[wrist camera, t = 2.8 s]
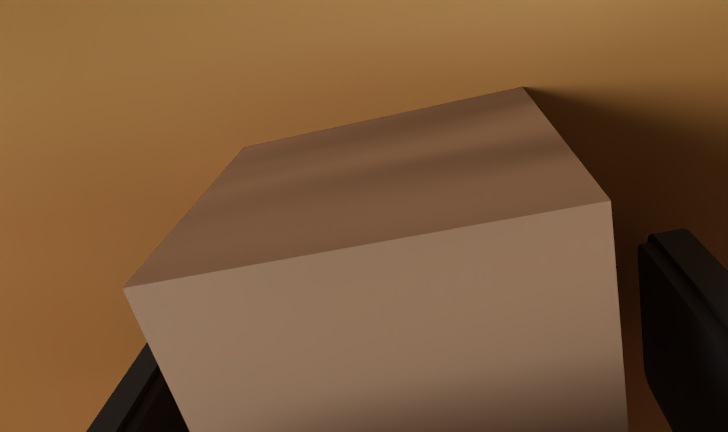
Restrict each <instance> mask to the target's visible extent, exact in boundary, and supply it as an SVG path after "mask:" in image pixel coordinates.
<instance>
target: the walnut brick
mask: <svg viewBox="0 0 728 432" xmlns="http://www.w3.org/2000/svg"><path fill="white" fill-rule="evenodd" d="M122 289H123V291H124V294H125V296H126V298H127V300H128V302H129V304H130V306H131V308H132V310H133V313H134V315H135V317H136V319H137V321H138V323H139V325H140V327H141V329H142V332H143V334H144V336H145V338H146V340H147V342H148V344H149V346H150V348H151V351H152V353H153V355H154V357H155V359H156V361H157V363H158V365H159V367H160V370H161V372H162V374H163V376H164V378H165V380H166V382H167V384H168V386H169V389H170V391H171V393H172V395H173V397H174V399H175V401H176V403H177V405H178V408H179V410H180V412H181V414H182V416H183V418H184V420H185V422H186V425H187V427H188V429H189V431H190V432H629V428H628V415H627V402H626V389H625V376H624V364H623V351H622V338H621V325H620V312H619V299H618V286H617V274H616V261H615V248H614V235H613V222H612V209H611V200H610V199H609V198H608V196H607V195H606V194H605V192H604V191H603V190H602V189H601V187H600V186H599V185H598V183H597V182H596V181H595V180H594V178H593V177H592V176H591V174H590V173H589V172H588V171H587V169H586V168H585V167H584V165H583V164H582V163H581V162H580V160H579V159H578V158H577V156H576V155H575V154H574V153H573V151H572V150H571V149H570V147H569V146H568V145H567V144H566V142H565V141H564V140H563V138H562V137H561V136H560V135H559V133H558V132H557V131H556V129H555V128H554V127H553V126H552V124H551V123H550V122H549V121H548V119H547V118H546V117H545V115H544V114H543V113H542V112H541V110H540V109H539V108H538V106H537V105H536V104H535V103H534V101H533V100H532V99H531V97H530V96H529V95H528V94H527V92H526V91H525V90H524V88H523V87H519V88H515V89H510V90H506V91H501V92H496V93H492V94H487V95H483V96H478V97H473V98H469V99H464V100H460V101H455V102H450V103H446V104H441V105H437V106H432V107H427V108H423V109H418V110H414V111H409V112H404V113H400V114H395V115H391V116H386V117H381V118H377V119H372V120H368V121H363V122H358V123H354V124H349V125H345V126H340V127H335V128H331V129H326V130H322V131H317V132H312V133H308V134H303V135H299V136H294V137H289V138H285V139H280V140H275V141H271V142H266V143H262V144H257V145H252V146H248V147H244V148H243V149H242V150H241V151H240V152H239V154H238V155H237V156H236V157H235V158H234V159H233V161H232V162H231V163H230V164H229V165H228V166H227V167H226V169H225V170H224V171H223V172H222V173H221V174H220V176H219V177H218V178H217V179H216V180H215V181H214V183H213V184H212V185H211V186H210V187H209V188H208V189H207V191H206V192H205V193H204V194H203V195H202V196H201V198H200V199H199V200H198V201H197V202H196V203H195V205H194V206H193V207H192V208H191V209H190V210H189V211H188V213H187V214H186V215H185V216H184V217H183V218H182V220H181V221H180V222H179V223H178V224H177V225H176V227H175V228H174V229H173V230H172V231H171V232H170V233H169V235H168V236H167V237H166V238H165V239H164V240H163V242H162V243H161V244H160V245H159V246H158V247H157V249H156V250H155V251H154V252H153V253H152V254H151V255H150V257H149V258H148V259H147V260H146V261H145V262H144V264H143V265H142V266H141V267H140V268H139V269H138V271H137V272H136V273H135V274H134V275H133V276H132V277H131V279H130V280H129V281H128V282H127V283H126V284H125V286H124V287H123V288H122Z"/></svg>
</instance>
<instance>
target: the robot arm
mask: <svg viewBox="0 0 728 432" xmlns="http://www.w3.org/2000/svg"><path fill="white" fill-rule="evenodd" d="M638 271H639V288H640V306H641V323H642V341H643V358H644V370H645V375H646V379H647V382H648V385H649V387H650V389H651V391H652V393H653V395H654V397H655V399H656V400H657V402H658V404H659V406H660V408H661V410H662V412H663V414H664V415H665V417H666V419H667V421H668V423H669V425H670V427H671V428H672V430H673V432H728V271H727V270H726V269H725V268H724V267H723V266H722V265H721V264H720V263H719V261H718V260H717V259H716V258H715V257H714V256H713V255H712V254H711V253H710V252H709V251H708V250H707V249H706V248H705V247H704V246H703V245H702V244H701V243H700V242H699V241H698V240H697V239H696V238H695V237H694V236H693V235H692V234H691V233H690V232H689V231H688V230H687V229H680V230H674V231H668V232H662V233H656V234H650V235H649V237H648V241H647V243H646V244H640V245H639V246H638ZM87 432H190V431H189V429H188V427H187V425H186V422H185V420H184V418H183V416H182V414H181V412H180V410H179V408H178V405H177V403H176V401H175V399H174V397H173V395H172V393H171V391H170V389H169V386H168V384H167V382H166V380H165V378H164V376H163V374H162V372H161V370H160V367H159V365H158V363H157V361H156V359H155V357H154V355H153V353H152V351H151V348H150V346H149V344H148V342H147V343H146V345H145V346H144V348H143V349H142V351H141V352H140V354H139V355H138V357H137V358H136V360H135V361H134V362H133V364H132V365H131V367H130V368H129V370H128V371H127V373H126V374H125V376H124V377H123V379H122V380H121V382H120V383H119V385H118V386H117V387H116V389H115V390H114V392H113V393H112V395H111V396H110V398H109V399H108V401H107V402H106V404H105V405H104V407H103V408H102V409H101V411H100V412H99V414H98V415H97V417H96V418H95V420H94V421H93V423H92V424H91V426H90V427H89V429H88V430H87Z"/></svg>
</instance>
